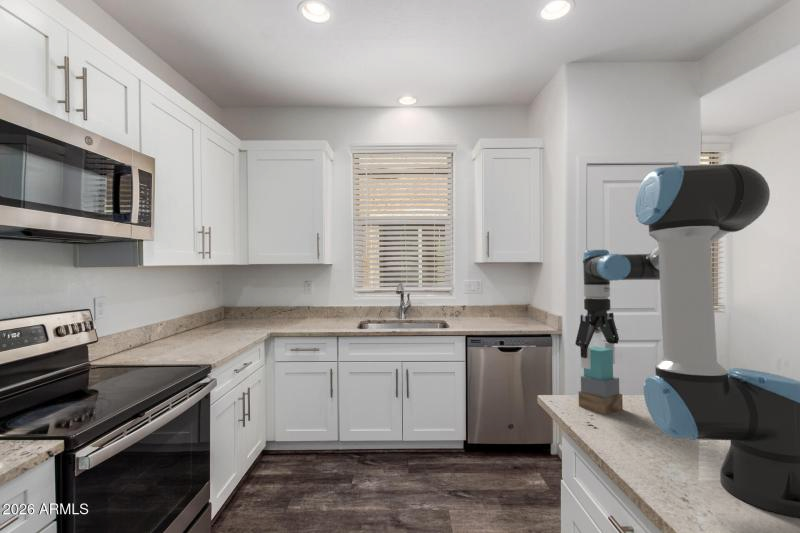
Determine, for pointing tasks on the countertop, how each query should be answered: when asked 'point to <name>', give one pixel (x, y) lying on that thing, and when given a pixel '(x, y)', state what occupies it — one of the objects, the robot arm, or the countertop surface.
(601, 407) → the walnut base
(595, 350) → the teal block
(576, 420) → the countertop surface
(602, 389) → the charcoal block
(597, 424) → the countertop surface
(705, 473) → the countertop surface
